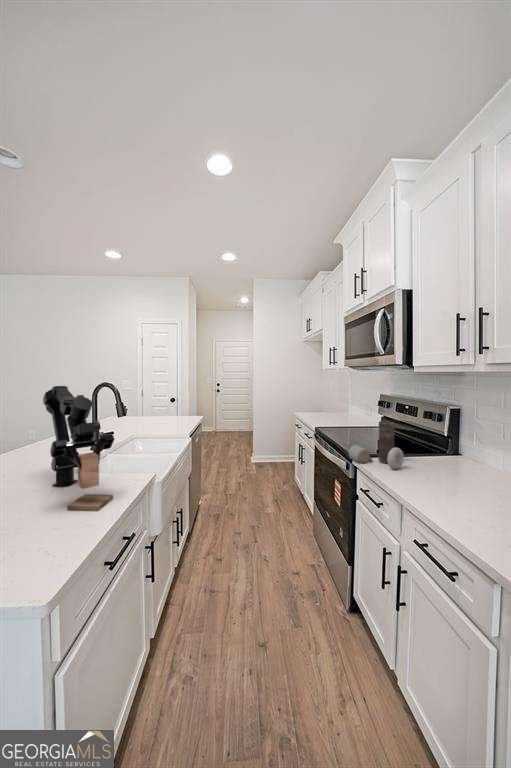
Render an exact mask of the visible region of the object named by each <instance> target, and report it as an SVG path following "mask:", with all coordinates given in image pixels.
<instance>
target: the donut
mask: <svg viewBox="0 0 511 768" xmlns="http://www.w3.org/2000/svg"><path fill="white" fill-rule="evenodd" d="M404 459H405V458H404V452H403V450H402V449H401V448H399V447H395V446H394V448H392V449H391V450H390V451H389V453H388V457H387V462H388V463H387V464H388V466H389V467H390V469H393V470H398V469H400V468H401V467H402V466H403V463H404Z"/></svg>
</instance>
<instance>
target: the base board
mask: <svg viewBox="0 0 511 768" xmlns="http://www.w3.org/2000/svg"><path fill="white" fill-rule="evenodd" d="M113 499H114V495H113V494H98V493H97V494H93V493H91V494H90V493H85V494H83V495H82V496H80V497H78V498H77V499H76V500H74V501H72V502H71V503H69V504H68V505H67V506H66V510H67V511H74V512H76V511H77V512H78V511H80V512H81V511H82V512H99V511H100V510H101V509H102V508H104V507H105V506H107V505H108V504H109V503H110V502H112V500H113Z"/></svg>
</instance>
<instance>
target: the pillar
mask: <svg viewBox="0 0 511 768" xmlns="http://www.w3.org/2000/svg"><path fill="white" fill-rule="evenodd" d="M78 456H79V459H80V462H81V468H79V467H78V468H77V480H78V481H77V486H79V488H81V489H82V490H84V489H88V488H92V487H93V488H94V487H97V486H98V487H99V486H100V476H99V475H100V460H99V455H97V454H96V453H94V452H93V451H92V452H88V453H87V452H86V453H81V454H80V453H79V455H78Z"/></svg>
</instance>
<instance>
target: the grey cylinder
mask: <svg viewBox="0 0 511 768" xmlns="http://www.w3.org/2000/svg"><path fill="white" fill-rule="evenodd" d="M370 455H371V454H370V451H369V450H367V448H364V447H363V446H361V445H359V444H355V445H352V446H350V448H349V450H348V457H349V458H350V459H351V460H353V461H355V462H358V463H360V464H366V463H367V462H368V461H369V462H372V461H373V458H372V457H370Z"/></svg>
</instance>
